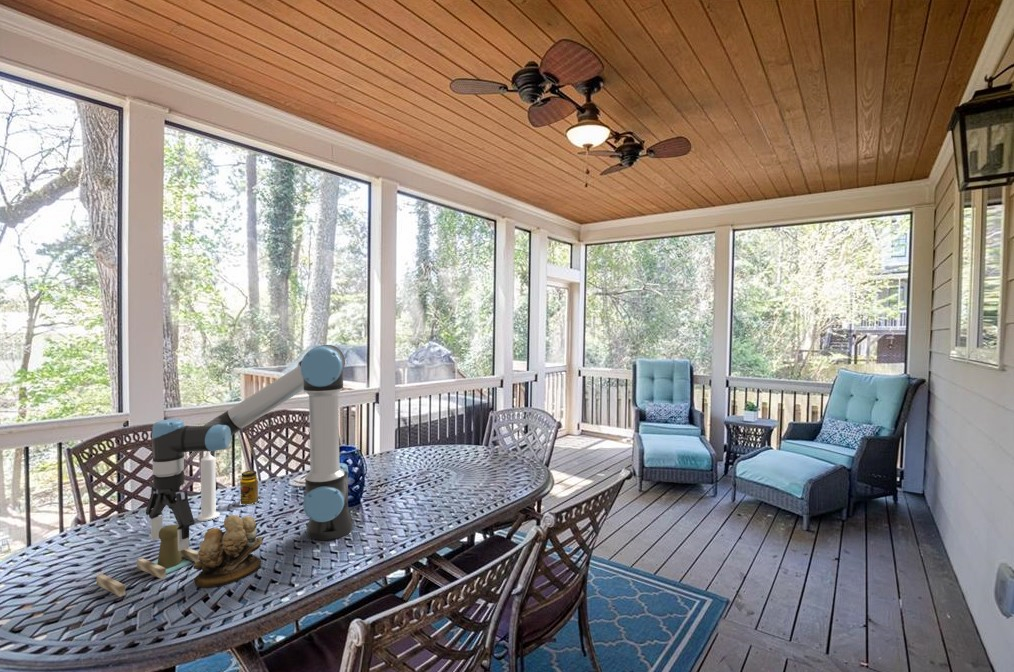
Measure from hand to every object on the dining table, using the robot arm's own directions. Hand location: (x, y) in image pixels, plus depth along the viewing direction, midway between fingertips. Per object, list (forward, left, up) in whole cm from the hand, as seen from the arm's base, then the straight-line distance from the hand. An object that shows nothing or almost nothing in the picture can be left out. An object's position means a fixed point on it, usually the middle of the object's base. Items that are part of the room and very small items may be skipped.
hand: (170, 543), depth 139 cm
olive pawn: (0, 0, -6) cm, 6 cm away
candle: (+23, -25, -6) cm, 35 cm away
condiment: (+24, -42, -7) cm, 49 cm away
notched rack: (0, 0, -6) cm, 6 cm away
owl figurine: (-20, -5, -7) cm, 22 cm away
